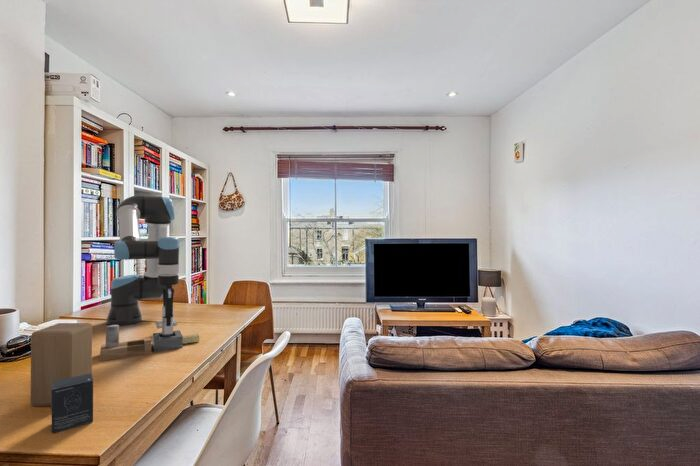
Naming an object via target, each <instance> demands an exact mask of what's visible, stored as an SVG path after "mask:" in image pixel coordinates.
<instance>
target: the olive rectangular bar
mask: <svg viewBox="0 0 700 466" xmlns="http://www.w3.org/2000/svg"><path fill="white" fill-rule="evenodd" d="M182 336H183V345H185V344H192V343H193V344H194V343H199V342H200V334H199V333H195V334H188V335H182Z"/></svg>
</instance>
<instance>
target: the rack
mask: <svg viewBox="0 0 700 466" xmlns="http://www.w3.org/2000/svg"><path fill="white" fill-rule="evenodd" d="M147 354H152V340H151V338H142V339H135V340H128V341H120V325H107V326H105V344H101V346H100V350H99V361H100V362H102V361H108V360H115V359H120V358H126V357H127V358H128V357H136V356H142V355H147Z"/></svg>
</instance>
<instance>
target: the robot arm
mask: <svg viewBox="0 0 700 466" xmlns="http://www.w3.org/2000/svg"><path fill="white" fill-rule="evenodd" d="M115 214H116V218H117V219H118V221H119V222H118V224H119V225H118V228H119V240H116V241H115V242H114V243H113V244H114V245H113V246H114V247H113V248H114V249H113V251H114V252H113V257H114V259H116V260H124V261H127V260H128V261H129V260H147V263H146V271H145V272H144V273H143V276H142V277H140V276H139V275H138V274H129V275H128V274H127V275H122V276H118V277H115V278H113V279H112V280H111V285H110V292H111V293H110V309H109V312H108V314H107V316H106V320H105V321H106V323H105V324H106V325H107V326H110V325H119V326H126V325H133V324H137V323H139V322H141V321H142V320H143V316H142V311H141V309H140V307H139V301H143V300H155V299H157V300H158V299H162V300H163V303H162V304H163V305H162V307H163V306H165V317H163V318H164V334H170V333H172V317H173V318H174V296H175V295H174V294H175V289H174V288H173V286H176V285H178V284H179V283H180V282H179V281H180V279H179V278H180V277H179V275H178V274H179V273H180V262H179V260H180V259H179V258H180V257H179V256H180V238H179V237H176V236H168V227H169V226H170V225H171V224H172V223H171V222H172V221H173V220H175V208H174V203H173V200H172V199H171V198H170V197H165V196H155V195H154V196H152V195H151V196H150V195H140V194H139V195H133V196H129V197H127V198H125V199H124V200H122V201H121V202H120V203H119V205H118V206H117V207H116V213H115ZM139 219H140V220H144V223H145V224H146V225H147V230H148V233H147V240H141V232H140V222H139V221H140V220H139Z"/></svg>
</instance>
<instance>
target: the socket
mask: <svg viewBox="0 0 700 466" xmlns="http://www.w3.org/2000/svg"><path fill="white" fill-rule="evenodd" d="M183 336H184V335H183V333H181V330H179V329H178V330H173V336H170V337H163V338H162V331H160V332H154V333H152V348H153V353H154V352H155V353H156V352H162V351H167V350H168V351H169V350H174V349H182V348H183V345H184V344H183Z"/></svg>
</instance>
